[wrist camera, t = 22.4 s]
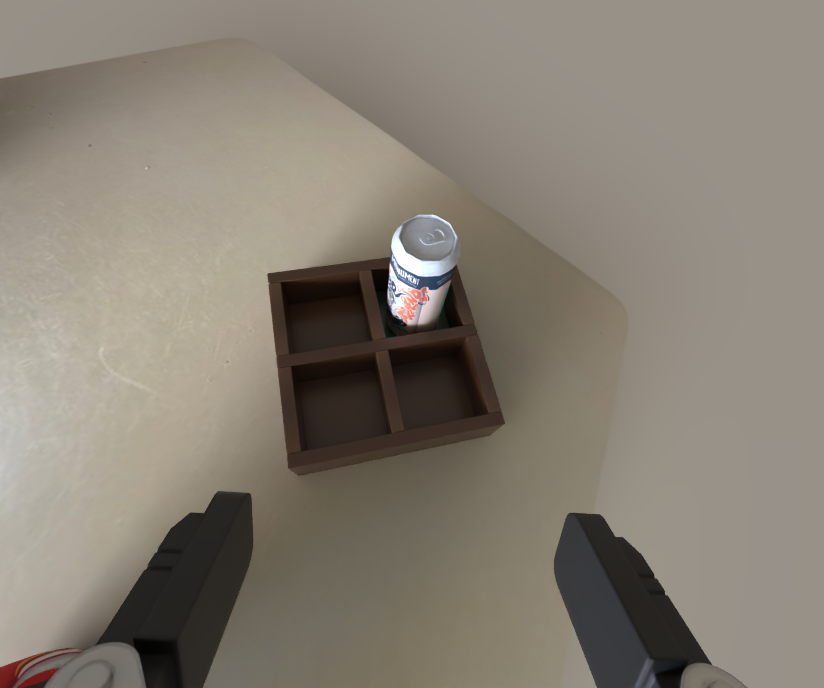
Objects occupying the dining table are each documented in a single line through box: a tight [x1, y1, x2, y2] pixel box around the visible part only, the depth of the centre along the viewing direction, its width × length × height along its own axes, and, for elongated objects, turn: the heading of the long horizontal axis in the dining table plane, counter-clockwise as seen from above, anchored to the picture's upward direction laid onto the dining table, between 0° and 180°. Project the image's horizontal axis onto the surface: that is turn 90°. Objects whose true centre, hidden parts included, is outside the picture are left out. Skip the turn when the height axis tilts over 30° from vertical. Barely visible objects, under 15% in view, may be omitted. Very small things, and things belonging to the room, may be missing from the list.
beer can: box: [386, 214, 461, 336], centre depth 34 cm, size 5×5×12 cm
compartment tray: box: [267, 257, 505, 476], centre depth 36 cm, size 16×16×4 cm
